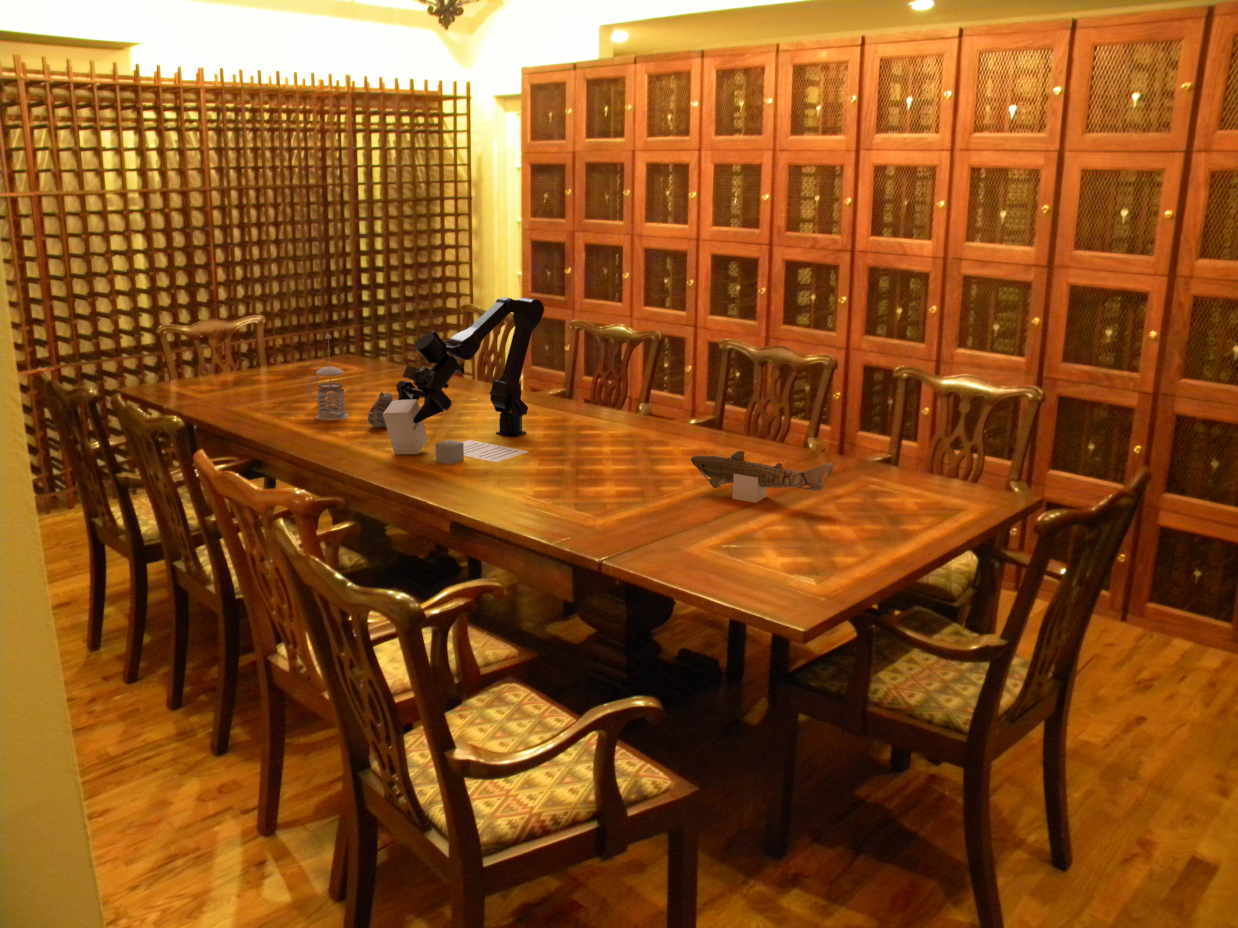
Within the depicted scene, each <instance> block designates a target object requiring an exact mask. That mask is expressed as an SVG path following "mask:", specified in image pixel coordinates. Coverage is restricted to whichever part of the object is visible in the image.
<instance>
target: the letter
mask: <svg viewBox="0 0 1238 928" xmlns="http://www.w3.org/2000/svg"><path fill="white" fill-rule="evenodd" d="M462 443H464V457H468V458H473V459H478V460H481V461H482V460H483V461H488V462H492V463H499V462H502V461H505V460H508V459H511V458H514V457H517V456H521V455H524V454H527V453H529V452H530V451H529V450H525V449H523V450H522V449H518V448H515V447H514V448H513V447H509V446H504V445H498V444H493V443H487V442H483V441H476V440H471V439H467V440H465V441H462Z"/></svg>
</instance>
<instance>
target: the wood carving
mask: <svg viewBox="0 0 1238 928" xmlns="http://www.w3.org/2000/svg"><path fill="white" fill-rule="evenodd" d="M745 453H746V452H745V451H743V450H737V451H736V452H734V453H732V455H730V457H724V456H717V455H693V456H691V458H690V461H691V463H692V465H693V466H695V468H696V469H697V470H698V471H699V472H700V474H702V476H703V477H704V478H705V479H706V481H708V482H709V484H710V485H711V486H712V488H713V489H717V488H722V487H723V486H724V485H727V484H733V485H732V487H733V488H732V497H731V498H732V500H738V501H742V502H744V501H745V502H750V503H758V502H760V501H762V500H763V499H765V498H766V497H767V488H774V489H776V488H777V489H780V488H783V489H784V488H796V489H801V490H810V491H816V492H817V491H819V492H820V491H822V490H823V489H824V486H825V485H826V484H827V481H828V480H829V478H830V476H831V474H832V472H833V469H834V464H833V463H832V462H828V463H827V462H826V463H824V464H820V465H818V466H815V467H812V468H809V469H808V470H806V471H805V470H804V471H800V470H795V469H794V470H793V469H789V468H783V464H782V463H781V462H780V463H779V462H778V463H776V464H775V465H769V464H762V463H759V462H758V463H757V462H751V461H747V460H746V461H745V457H744V456H745ZM826 473H827V478H826V479H825V481H824V482H823V477H824V476H825V474H826ZM709 478H710V479H709ZM804 486H807V487H804Z"/></svg>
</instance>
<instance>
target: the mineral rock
mask: <svg viewBox="0 0 1238 928" xmlns="http://www.w3.org/2000/svg"><path fill="white" fill-rule="evenodd" d="M393 400H394V399H393V395H392V393H390V392H385V393H384V392H383V391H380V393H379V395H378V398H377V400H376V401H375V402H374V403H373V405H372V407H371V408H370V409H369V411H368V412H369V413H368V417H367V422H368V423H369V424H370V425H371V426H372V427H375V428H384V427H386V423H385V420H384V417H383V413H384V412H385V410H386V409H387V407H388V406H389V405H390V403H391V402H392V401H393ZM386 428H387V427H386Z"/></svg>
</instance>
